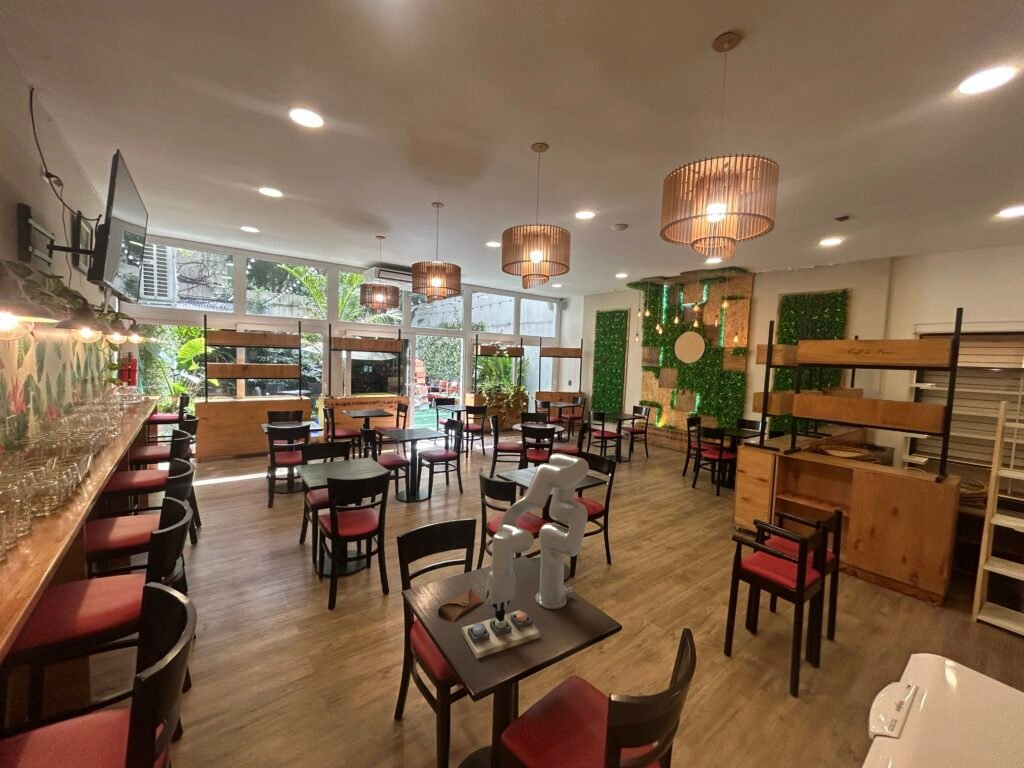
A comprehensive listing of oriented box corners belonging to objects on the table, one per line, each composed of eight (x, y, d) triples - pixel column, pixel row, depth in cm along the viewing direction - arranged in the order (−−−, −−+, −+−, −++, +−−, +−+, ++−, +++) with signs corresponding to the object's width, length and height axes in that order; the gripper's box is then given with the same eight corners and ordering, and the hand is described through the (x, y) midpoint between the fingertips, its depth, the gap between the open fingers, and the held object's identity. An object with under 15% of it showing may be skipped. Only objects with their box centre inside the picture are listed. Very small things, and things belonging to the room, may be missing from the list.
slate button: (481, 629, 146) (481, 623, 145) (486, 636, 142) (486, 630, 142) (470, 632, 144) (471, 626, 144) (475, 639, 140) (475, 633, 140)
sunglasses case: (453, 623, 152) (447, 604, 154) (441, 626, 156) (436, 607, 158) (485, 601, 167) (479, 584, 168) (474, 604, 171) (468, 588, 172)
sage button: (503, 622, 150) (503, 617, 149) (508, 629, 146) (508, 623, 146) (493, 625, 148) (493, 620, 148) (498, 632, 144) (498, 626, 144)
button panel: (520, 614, 159) (520, 604, 159) (539, 637, 147) (539, 626, 146) (461, 632, 148) (461, 622, 147) (476, 658, 135) (477, 647, 135)
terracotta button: (523, 616, 154) (523, 611, 153) (528, 622, 150) (529, 617, 150) (514, 619, 152) (514, 613, 152) (519, 625, 148) (519, 620, 148)
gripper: (515, 560, 152) (513, 608, 153) (478, 567, 145) (476, 618, 146) (525, 569, 146) (523, 620, 146) (487, 578, 138) (484, 631, 139)
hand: (499, 619), depth 146 cm, fingers closed
